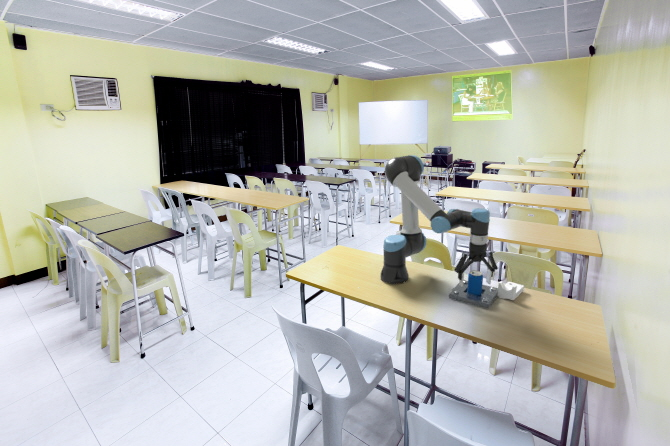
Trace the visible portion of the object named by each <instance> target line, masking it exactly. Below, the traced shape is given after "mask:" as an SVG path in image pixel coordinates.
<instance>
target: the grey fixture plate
mask: <svg viewBox="0 0 670 446" xmlns="http://www.w3.org/2000/svg"><path fill="white" fill-rule="evenodd" d="M467 287H468V280H467V279H466V280H465V279H464V283H463V287H461V286H460V285H459V282H458V283H457V284H456V285H455V287H453V288H452V289H451V291H450V292H449V293H448V299H451V300H455V301H457V302H460V303H461V302H462V303H463V304H464V303H465V304H468V305H471V306H474V307H475V306H476V307H479V308H482V309H486V310H490V308H491V306H492V305H493V303H494V302H495V300H496V299H497V298H498V297H497V296H498V287H495V286H490V285H487V284H482V295H481V297H480V296H476V295H472V294H469V293H467Z"/></svg>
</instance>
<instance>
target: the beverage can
mask: <svg viewBox="0 0 670 446" xmlns="http://www.w3.org/2000/svg"><path fill="white" fill-rule="evenodd" d="M467 281H468V287H467V293H469V294H472V295H476V296H480V297H481V296H482V284H483V281H484V275H483V272H482V271H479V270H470V271H469V273H468V276H467ZM483 285H484V284H483Z"/></svg>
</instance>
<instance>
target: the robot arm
mask: <svg viewBox="0 0 670 446" xmlns="http://www.w3.org/2000/svg"><path fill="white" fill-rule="evenodd" d="M424 165H425V164H424V162H423V161H422V159H421V158H420V157H419V156H417V155H414V154H413V155H411V154H409V155H402V156H396V157H395V156H394V157H392V158H391V159H389V160H388V161H387V163H386V164H385V167H384V174H385V177H386V179H387V181H388V182H389V183H390V184H391V186H392V187H394V188H397V189H398V190H399V191H400V194H401V195H400V197H401V214H402V216H401V217H402V218H401V219H402V229H400V230H399V231H400V234H391V235H388V236H387V237H385V238H384V241H383V266H382V269H381V272H380V280H381V281H382V282H384V283H386V284H389V285H390V284H391V285H401V284H405V283H407V282H408V281H409V278H410V276H409V272H408V268H407V266H406V264H407V263H406V260H407V258H408V257H411V256H414V255H416V254H419V253H421V252H422V251H424V249H425V248H426V246H427V242H428V241H427V238H426V236H425V234H424V233H423V231H422V229H421V228H420V225H419V211H420V212H421V213H422V214H423V215H424V217H426V218H427V219H428V220H429V222H430V227H431V230H432V232H433V233H436V234H444V233H447V232H449V231H451V230H454V229H457V228H460V227H461V228H466V229H470V232H469V233H470V234H469V245H468V246H469V247H468V253H467V252H464V251H463V252H462V253H461V257H460V259H459V261H458V263H457V264H456V266H455V268H454V269H453V271H454V272H455V273H456V274H457V279H458V280H459V281H458V283H459V285H460V286H461V287H463V283H464V280H465V273H464V272H465V271H466V270H467V269H468V268H469V266H471V265H472V264H473V263H477V262H479V263H481V262H483V263H484V266H486V267H487V269H486V279H485V282H486V283H487V284H488V285H491V283H492V278H493V277H494V273H495V272H496V270H498V269H499V267H498V265H497V264H496V263H497V262H496V260H495V258H494V256H493V255H494V253H493V251H491V250H489V249H487V248H488V238H489V226H490V221H491V218H490V217H491V215H490V213H491V212H490V210H488V209H486V208H473V209H472V210H471V211H467V210H463V209H462V210H461V209H458V208H451V209H449V210H448V211H447V212H446V211H444V210H443V209H442V208H441V207H440V206H439V205H438V203H436V202H435V201H434V200H433V199H432V197H430V196H429V195H428V194H427V193H426V192H425V191H424V190H423V189H422V188H421V186H419V185H418V183H420V181H421V179H420V178H421V175H422V173H424V171H425V169H424V167H425V166H424ZM486 256H487V257H488V260H489V262H490V263H489V262H488V261H487V259H486Z"/></svg>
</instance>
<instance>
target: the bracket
mask: <svg viewBox="0 0 670 446" xmlns="http://www.w3.org/2000/svg"><path fill="white" fill-rule="evenodd" d="M497 288H498V296H497V297H496V298H499V299H500V298H501V299H502V300H503V299H504V300H507V299H508V300H511V301H514V300H515V299H517V298H518V296H519V295H521V293H523V292H524V290H525V289H524V288H525V285H523V284H520V283H516V282H512V281H508V282H506V283H505V284H504V281H502V280H501V281H500V280H499V282H498V287H497Z"/></svg>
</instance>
